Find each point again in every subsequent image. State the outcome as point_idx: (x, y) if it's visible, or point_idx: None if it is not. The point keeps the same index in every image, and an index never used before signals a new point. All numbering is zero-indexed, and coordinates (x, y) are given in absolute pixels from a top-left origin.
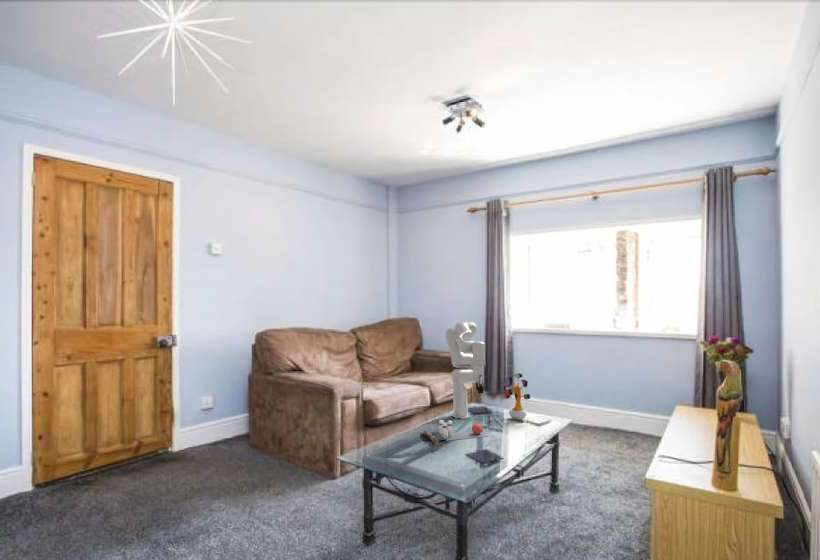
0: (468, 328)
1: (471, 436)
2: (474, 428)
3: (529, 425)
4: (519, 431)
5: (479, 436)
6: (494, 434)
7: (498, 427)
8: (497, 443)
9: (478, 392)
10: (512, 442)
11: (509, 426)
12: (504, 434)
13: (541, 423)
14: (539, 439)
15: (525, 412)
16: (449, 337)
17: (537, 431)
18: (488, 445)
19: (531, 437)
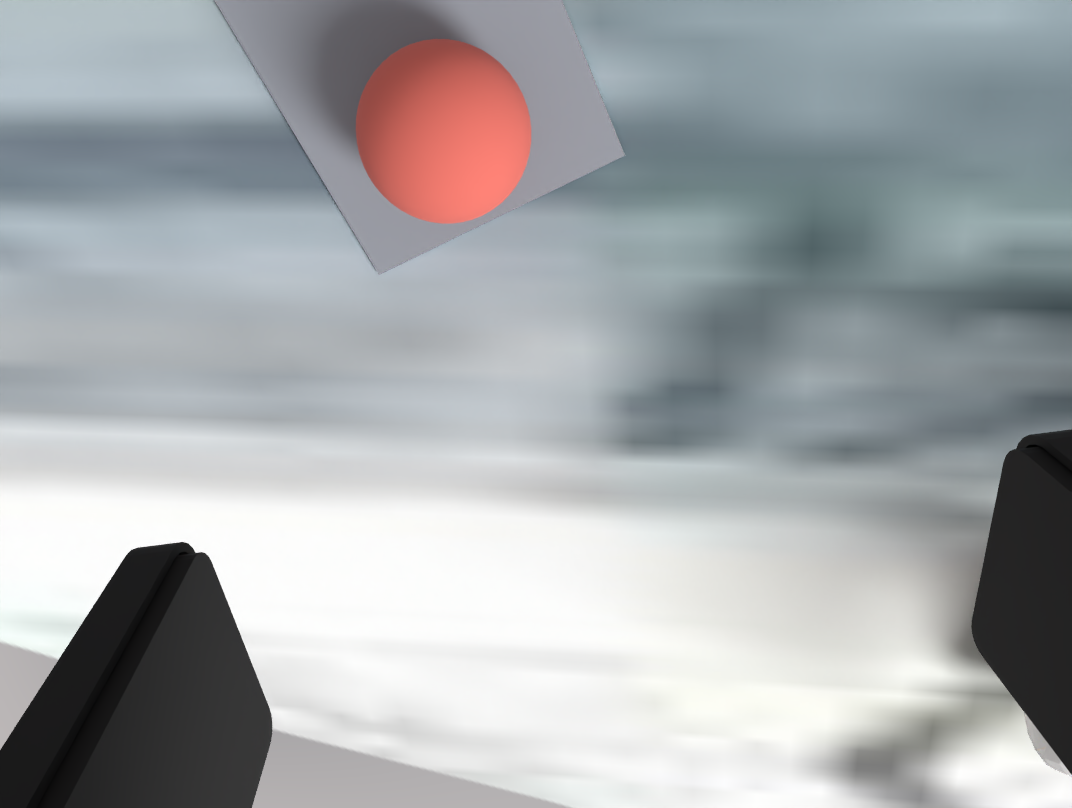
0: None
1: (299, 28)
2: (364, 93)
3: (854, 702)
4: (637, 611)
5: (332, 160)
6: (486, 360)
7: (793, 415)
8: (133, 384)
9: (132, 586)
10: (230, 532)
11: (829, 532)
12: (505, 469)
13: (913, 788)
14: (400, 739)
15: (1061, 771)
16: None
17: (649, 743)
18: (7, 278)
19: (447, 690)
